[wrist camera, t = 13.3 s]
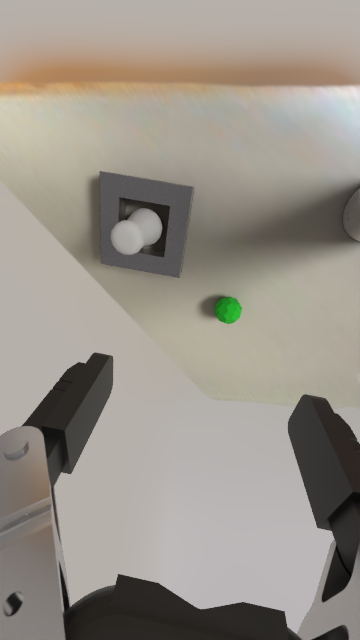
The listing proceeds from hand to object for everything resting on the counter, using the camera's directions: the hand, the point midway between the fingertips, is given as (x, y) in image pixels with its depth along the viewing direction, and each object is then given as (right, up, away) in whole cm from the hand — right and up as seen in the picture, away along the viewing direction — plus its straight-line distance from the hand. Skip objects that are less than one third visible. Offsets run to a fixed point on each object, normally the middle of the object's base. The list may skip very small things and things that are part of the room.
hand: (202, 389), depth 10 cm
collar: (-7, +19, +32) cm, 38 cm away
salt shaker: (-6, +19, +32) cm, 38 cm away
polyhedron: (+8, +6, +37) cm, 39 cm away
